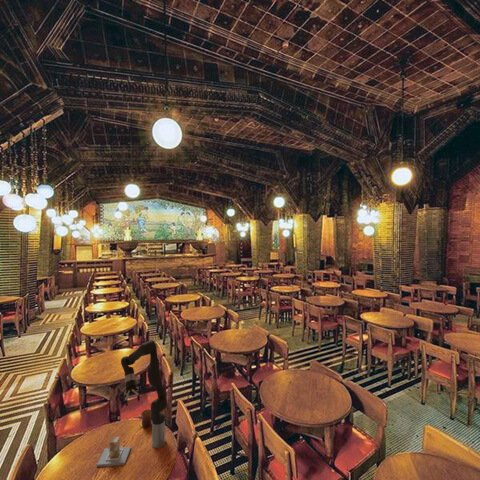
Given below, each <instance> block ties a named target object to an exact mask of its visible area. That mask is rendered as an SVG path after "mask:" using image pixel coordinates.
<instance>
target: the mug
mask: <svg viewBox="0 0 480 480" xmlns="http://www.w3.org/2000/svg"><path fill="white" fill-rule="evenodd" d="M140 416H141V425H142V427H143V428H145V429H147V428H149V427H150V426H152V418H151V408H149V409H144V410H143V411H141V412H140Z"/></svg>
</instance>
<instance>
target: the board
mask: <svg viewBox="0 0 480 480" xmlns="http://www.w3.org/2000/svg"><path fill="white" fill-rule="evenodd" d="M131 450H132V446H119V454H118V457H117V458H109V447H108V448H107V447H106V448H104V449H103V452H102V453H101V455H100V457H99V460H98V461H97V463H96V467H99V468H100V467H111V466H125V465H126V463H127V461H128V460H127V459H128V458H129V454H130V452H131Z"/></svg>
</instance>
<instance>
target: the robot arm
mask: <svg viewBox="0 0 480 480" xmlns="http://www.w3.org/2000/svg"><path fill="white" fill-rule="evenodd" d="M148 355H149V356H150V358H149V359H150V360H149V361H150V362H149V365H148V369H147V372H146V373H147V375H146V376H147V380H148V383H149V385H150V386H151V387H152V388H153V389H154V390H155V392H156V395H157V398H156V399H154V400H153V401H152V402H151V403H150V410H151V418H152V423H151V446H152V448H154V449H159V448H162V447H164V446H165V443H166V416H165V414H164V413H162V412H163V411H165V410H166V409H167V407H168V400H167V396H166V393H165V390H164V385H163V381H162V375H161V370H160V365H159V359H158V348H157V344H156V342H155V340H153V339H151V340H149V341H145V342H143V343H141V344H140V346H138V348H137V349H135V350H134V351H132V352H130V354H129V355H126V356H123V357H122V358H121V359H120V364H121V367H122V369H123V372H124V384H125V391H122V392H121V401H123V402H124V405H125V406H126V407H129V401H128V400H129V398H130V397H132V396H133V395H135V394H136V396H137V402H140V400H141V395H142V394H143V391H142V387H141V385H138V386H137V382H136V381H137V380H136V379H137V378H136V375H135V368H134V367H133V365H134V364H135V362H136V361H137V360H139V359H140V358H141V357H145V356H148ZM131 365H132V366H131Z"/></svg>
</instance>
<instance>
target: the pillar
mask: <svg viewBox="0 0 480 480" xmlns="http://www.w3.org/2000/svg"><path fill="white" fill-rule="evenodd" d="M108 443H109V444H108V445H109V447H108V448H109V458H117V457H118V454H119V447H120V436H112V437H111V438H110V441H109V442H108Z"/></svg>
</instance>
